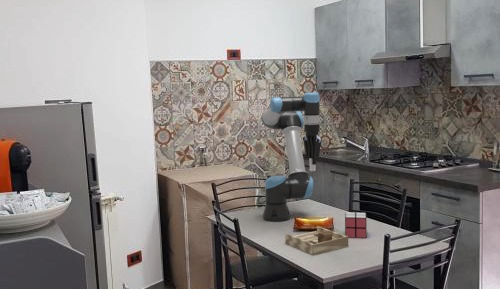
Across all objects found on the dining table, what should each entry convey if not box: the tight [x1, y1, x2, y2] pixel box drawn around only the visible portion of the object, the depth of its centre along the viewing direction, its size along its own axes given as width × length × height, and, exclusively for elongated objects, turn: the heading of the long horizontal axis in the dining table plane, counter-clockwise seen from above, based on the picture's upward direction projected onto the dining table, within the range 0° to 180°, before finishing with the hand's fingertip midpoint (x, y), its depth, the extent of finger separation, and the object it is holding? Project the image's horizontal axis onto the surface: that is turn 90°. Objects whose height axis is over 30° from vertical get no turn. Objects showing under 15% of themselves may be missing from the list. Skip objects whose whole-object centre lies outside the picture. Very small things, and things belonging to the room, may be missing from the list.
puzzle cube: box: [344, 211, 368, 239], centre depth 245 cm, size 10×10×10 cm
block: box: [318, 231, 332, 243], centre depth 227 cm, size 4×4×4 cm
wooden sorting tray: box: [284, 226, 349, 256], centre depth 232 cm, size 21×20×4 cm
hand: (312, 170), depth 253 cm, fingers closed
